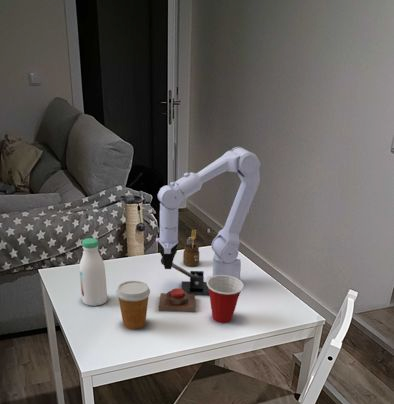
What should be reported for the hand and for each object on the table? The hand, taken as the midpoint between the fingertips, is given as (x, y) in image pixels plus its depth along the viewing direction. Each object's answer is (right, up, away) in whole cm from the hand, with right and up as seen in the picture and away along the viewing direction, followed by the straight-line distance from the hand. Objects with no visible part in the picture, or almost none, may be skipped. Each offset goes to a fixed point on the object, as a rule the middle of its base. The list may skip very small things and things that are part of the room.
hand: (168, 266), depth 160 cm
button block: (+3, -13, -5) cm, 14 cm away
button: (+3, -10, -7) cm, 13 cm away
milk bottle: (-23, -12, -5) cm, 26 cm away
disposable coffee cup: (-9, -19, -16) cm, 27 cm away
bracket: (+9, -7, +4) cm, 12 cm away
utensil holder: (+7, +4, +23) cm, 25 cm away
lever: (+3, -2, +1) cm, 4 cm away
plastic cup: (+17, -18, -12) cm, 27 cm away
